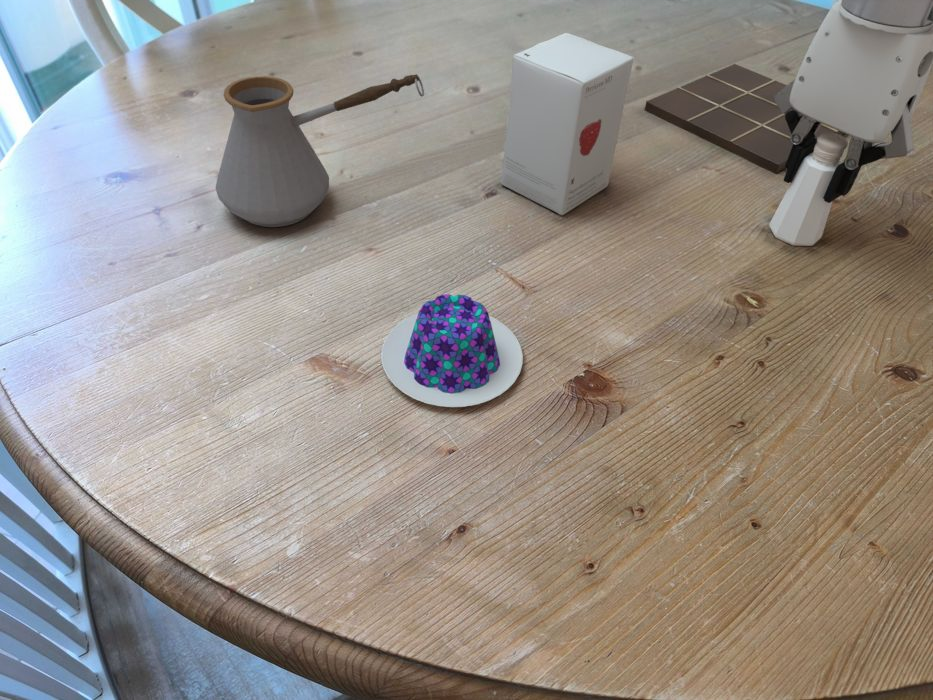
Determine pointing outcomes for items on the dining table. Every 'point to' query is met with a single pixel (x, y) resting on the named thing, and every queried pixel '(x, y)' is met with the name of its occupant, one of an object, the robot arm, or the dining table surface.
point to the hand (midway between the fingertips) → (813, 186)
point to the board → (733, 114)
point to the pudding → (452, 354)
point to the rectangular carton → (564, 120)
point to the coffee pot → (278, 151)
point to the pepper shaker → (809, 194)
